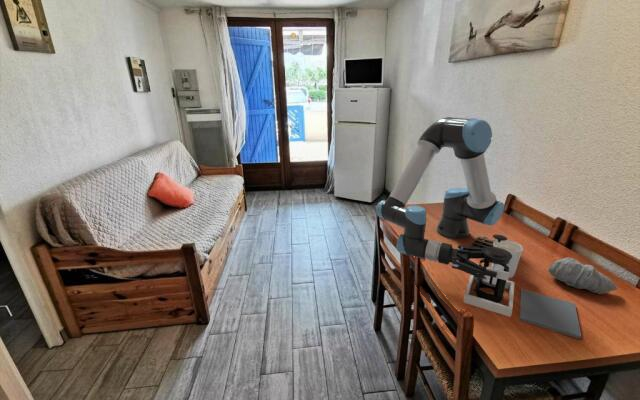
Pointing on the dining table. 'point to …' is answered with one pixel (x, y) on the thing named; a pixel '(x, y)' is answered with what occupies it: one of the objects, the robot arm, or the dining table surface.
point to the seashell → (581, 276)
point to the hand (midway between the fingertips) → (509, 268)
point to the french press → (496, 257)
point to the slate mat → (549, 313)
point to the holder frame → (489, 304)
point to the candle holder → (514, 250)
